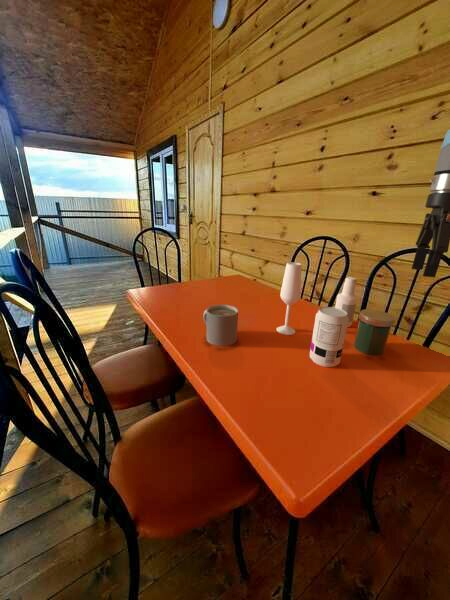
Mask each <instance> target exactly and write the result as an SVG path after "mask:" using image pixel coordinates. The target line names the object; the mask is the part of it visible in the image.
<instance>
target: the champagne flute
mask: <svg viewBox="0 0 450 600" xmlns="http://www.w3.org/2000/svg"><path fill="white" fill-rule="evenodd" d="M302 265H303V264H302V263H300V262H297V261H296V262H295V261H294V262H293V261H288V262H286V265H285V269H284V273H283V274H284V275H283V279H282V282H281V289H280V293H279V297H280V299H281V301H282V302H283V303H284V304H285V305H286V312H285V321H284V325H280V326H278V327H276V329H275V330H276V332H278V333H279V334H281V335H286V336H290V335H291V336H292V335H294V334H296V330H295V329H294V328H292V327H291V326H290V325H289V324H290V323H289V322H290V314H291V308H292V306H293V305H294V304H296V303H297V302H299V300H301V295H302V294H301V293H302V267H303V266H302Z"/></svg>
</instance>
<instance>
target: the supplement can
mask: <svg viewBox="0 0 450 600" xmlns="http://www.w3.org/2000/svg"><path fill="white" fill-rule="evenodd" d="M348 321H349V318H348V316H347V312H345V311H344V310H341V309H338V308H335V306H322V307H320V308H319V309H318V311H317V312H316V313H315V317H314V324H313V330H312V335H311V342H310V349H309V355H308V356H309V358H310V359H311V360H312V362H313V363H314V364H316V365H318V366H320V367H324V368H333V367H336V366H338V365H340V363H341V358H342V354H343V349H344V344H345V340H346V335H347V330H348V327H347V326H348Z"/></svg>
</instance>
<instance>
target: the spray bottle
mask: <svg viewBox="0 0 450 600" xmlns="http://www.w3.org/2000/svg"><path fill="white" fill-rule="evenodd" d="M356 283H357V278H356V277H352V276H348V277H346V278H345V280H344V283H343V285H342V291H341V292H339V293H338V294H337V295H336V299H335V306H334V308H338V309H341V310H344V311H345V312H347V316H348V318H349V321H348V326H347V328H350V327H352V325H353V321H354V316H355V311H356V307H357V303H358V296H356V294H355V291H356Z"/></svg>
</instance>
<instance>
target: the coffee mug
mask: <svg viewBox="0 0 450 600" xmlns="http://www.w3.org/2000/svg"><path fill="white" fill-rule="evenodd" d="M202 316H203V323H204V324H205V325H206V329H205V330H206V334H205V335H206V337H205V339H206V341H207V342H208V343H209V344H211V345H214V346H217V347H227V346H231V345H234V344H235V343H236V342H237V341H238V324H239V309H238V308H237V307H235V306H233V305H229V304H214V305H210V306H209V307H207V308H206V309H205V310H204V311H203V315H202Z"/></svg>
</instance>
